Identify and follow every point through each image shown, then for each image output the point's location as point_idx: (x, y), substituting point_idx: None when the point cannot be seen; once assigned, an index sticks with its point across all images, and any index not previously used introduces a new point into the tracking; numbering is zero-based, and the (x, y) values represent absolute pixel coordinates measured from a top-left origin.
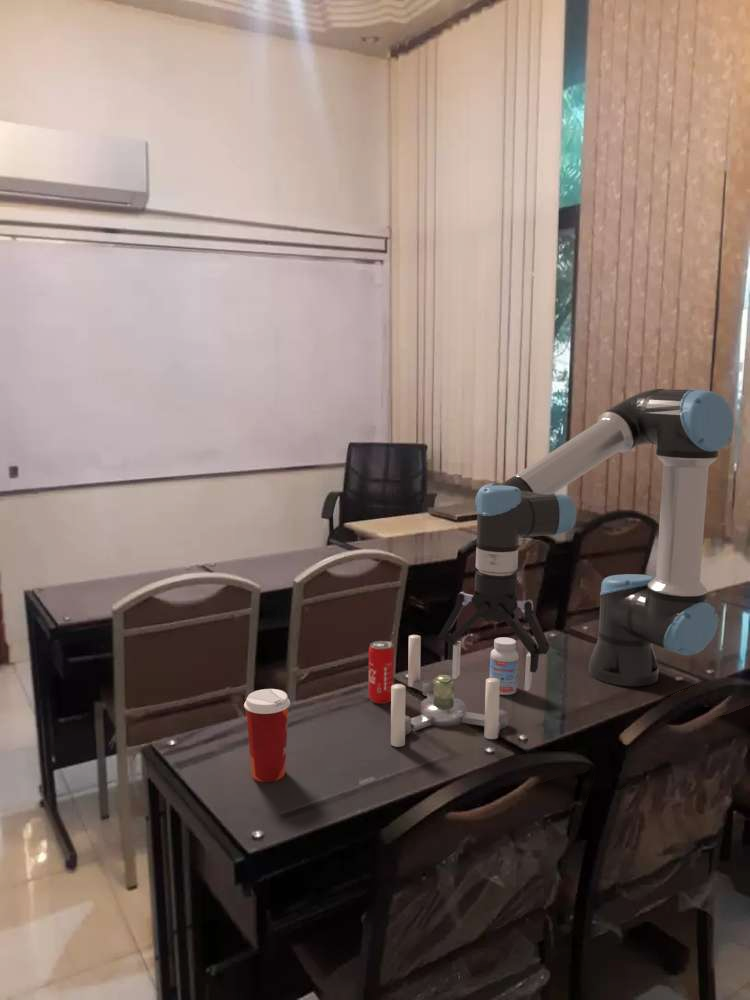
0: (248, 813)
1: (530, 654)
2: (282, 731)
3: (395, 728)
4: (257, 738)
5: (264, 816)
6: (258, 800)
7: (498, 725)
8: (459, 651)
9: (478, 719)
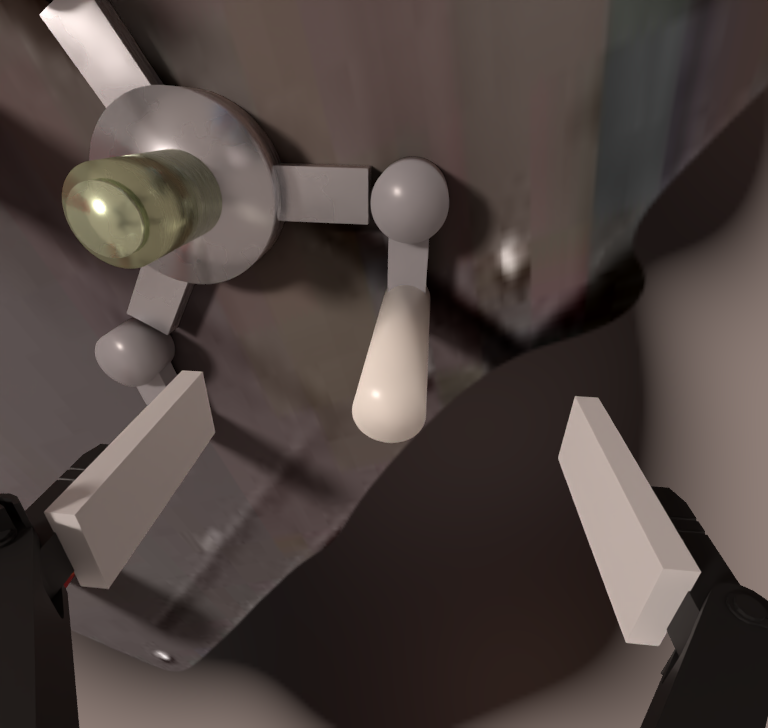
0: (117, 629)
1: (666, 619)
2: None
3: None
4: None
5: (140, 631)
6: (102, 607)
7: (424, 272)
8: (128, 484)
9: (340, 222)
